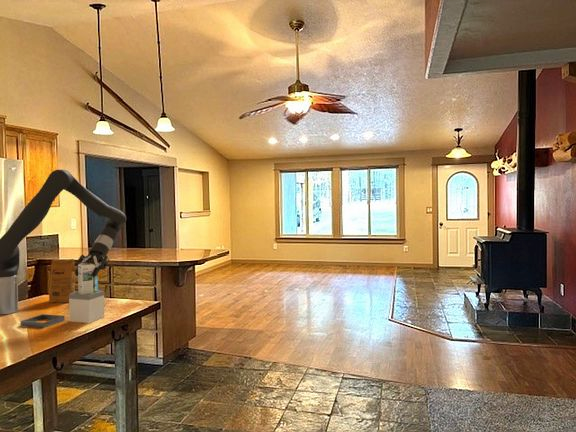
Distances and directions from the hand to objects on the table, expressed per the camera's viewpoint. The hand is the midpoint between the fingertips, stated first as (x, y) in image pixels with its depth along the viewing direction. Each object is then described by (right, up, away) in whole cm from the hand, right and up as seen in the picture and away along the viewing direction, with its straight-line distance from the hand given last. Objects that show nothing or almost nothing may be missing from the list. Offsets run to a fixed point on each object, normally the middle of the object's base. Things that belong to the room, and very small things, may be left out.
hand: (84, 275), depth 187 cm
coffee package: (-29, -19, +36) cm, 49 cm away
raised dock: (0, -20, +2) cm, 20 cm away
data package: (-14, -19, +36) cm, 43 cm away
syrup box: (0, -10, +2) cm, 10 cm away
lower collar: (-16, -20, -4) cm, 26 cm away
